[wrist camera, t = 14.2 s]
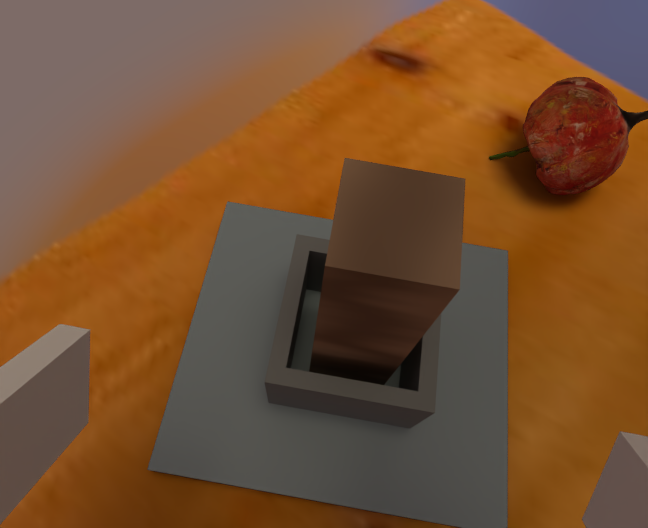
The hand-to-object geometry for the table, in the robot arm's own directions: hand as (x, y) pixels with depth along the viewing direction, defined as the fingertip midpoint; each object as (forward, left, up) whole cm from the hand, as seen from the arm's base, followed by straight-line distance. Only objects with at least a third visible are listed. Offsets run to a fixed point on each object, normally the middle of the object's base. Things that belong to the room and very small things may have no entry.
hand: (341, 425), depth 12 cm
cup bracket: (-1, -6, -16) cm, 17 cm away
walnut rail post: (-1, -6, -14) cm, 16 cm away
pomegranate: (-13, -22, -16) cm, 30 cm away
